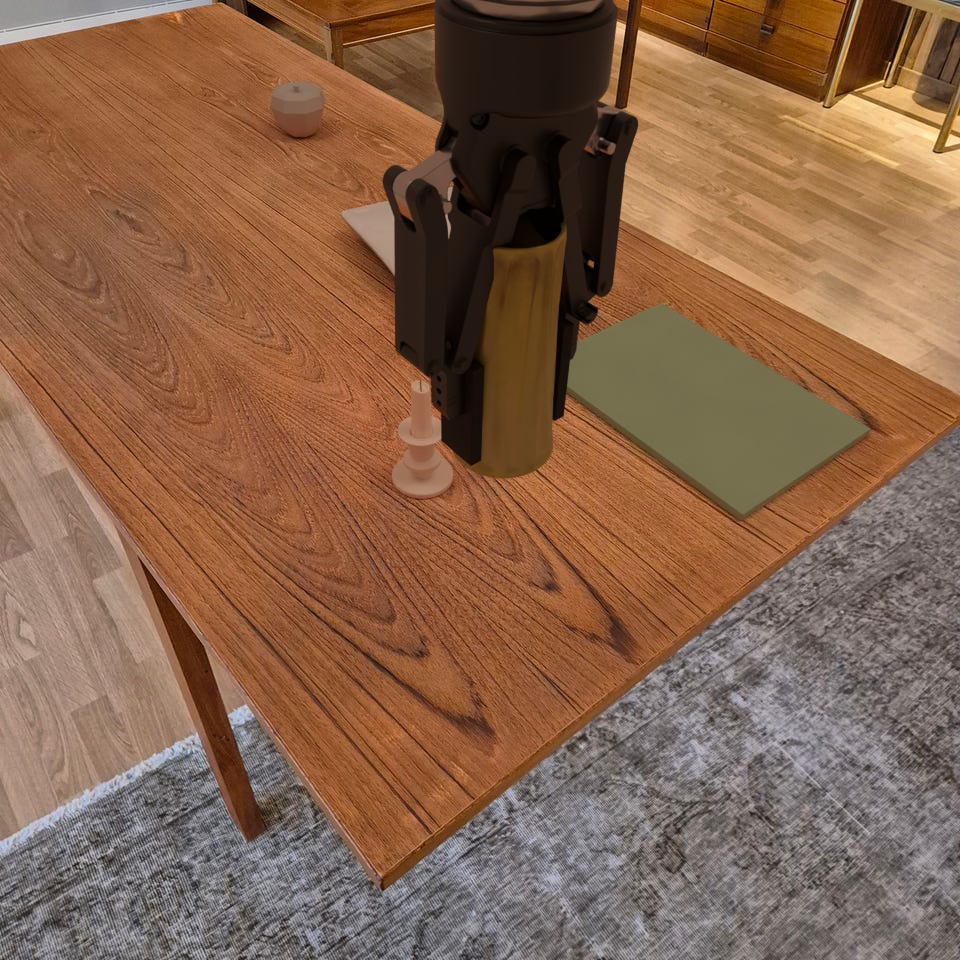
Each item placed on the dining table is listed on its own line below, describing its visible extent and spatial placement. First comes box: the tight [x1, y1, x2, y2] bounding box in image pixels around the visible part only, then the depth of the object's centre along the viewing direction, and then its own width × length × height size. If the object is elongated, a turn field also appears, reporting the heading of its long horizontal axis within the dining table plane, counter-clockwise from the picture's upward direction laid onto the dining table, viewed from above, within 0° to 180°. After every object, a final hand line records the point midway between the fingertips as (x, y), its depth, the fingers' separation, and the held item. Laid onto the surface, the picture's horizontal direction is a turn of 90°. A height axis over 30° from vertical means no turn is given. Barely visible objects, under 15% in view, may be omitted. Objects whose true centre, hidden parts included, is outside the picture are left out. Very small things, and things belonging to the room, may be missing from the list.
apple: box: [269, 81, 326, 138], centre depth 124 cm, size 8×8×7 cm
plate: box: [340, 186, 453, 278], centre depth 101 cm, size 21×21×3 cm
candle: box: [391, 379, 454, 500], centre depth 72 cm, size 5×5×10 cm
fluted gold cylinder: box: [452, 211, 567, 480], centre depth 48 cm, size 6×6×14 cm
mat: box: [566, 302, 872, 522], centre depth 84 cm, size 26×18×1 cm
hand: (503, 427), depth 52 cm, fingers closed on fluted gold cylinder, 6 cm apart
